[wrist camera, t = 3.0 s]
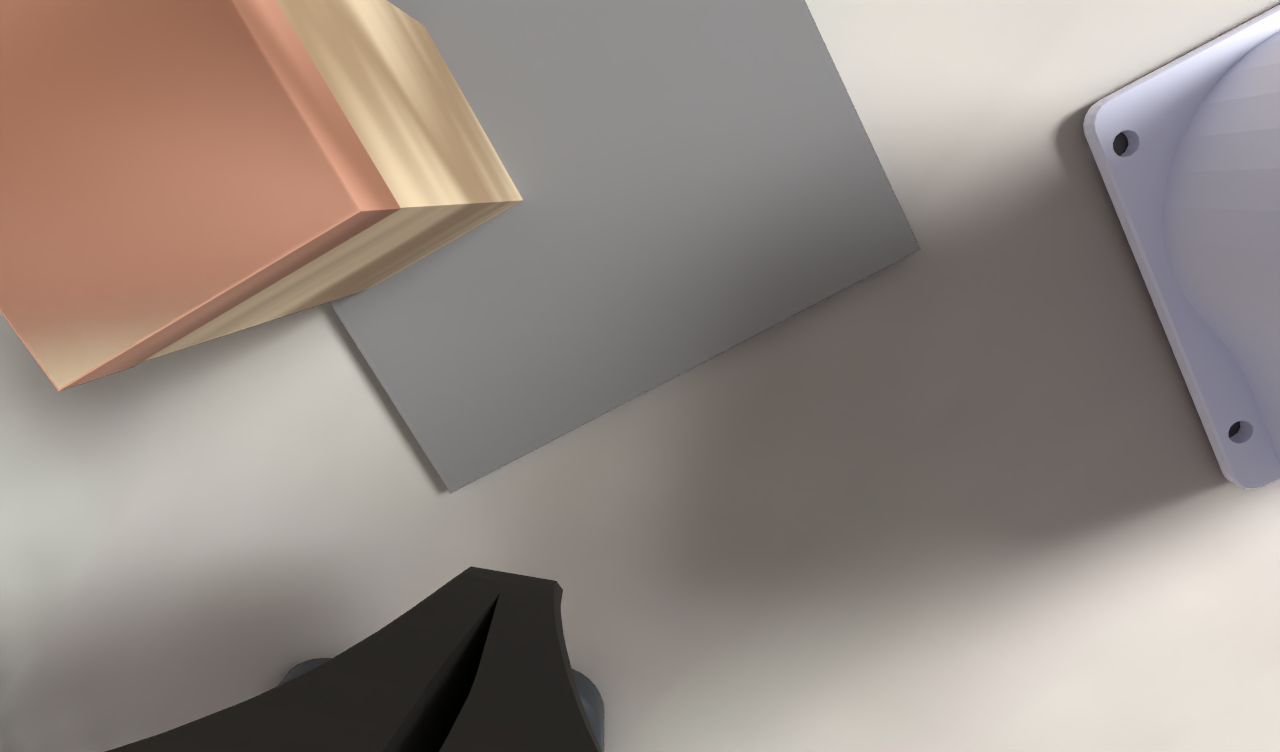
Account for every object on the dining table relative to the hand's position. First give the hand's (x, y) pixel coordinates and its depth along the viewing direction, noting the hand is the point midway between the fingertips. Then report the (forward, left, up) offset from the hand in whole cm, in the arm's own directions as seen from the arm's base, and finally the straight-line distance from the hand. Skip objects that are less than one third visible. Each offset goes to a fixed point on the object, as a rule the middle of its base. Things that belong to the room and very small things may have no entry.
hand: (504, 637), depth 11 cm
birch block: (+8, 0, -7) cm, 11 cm away
